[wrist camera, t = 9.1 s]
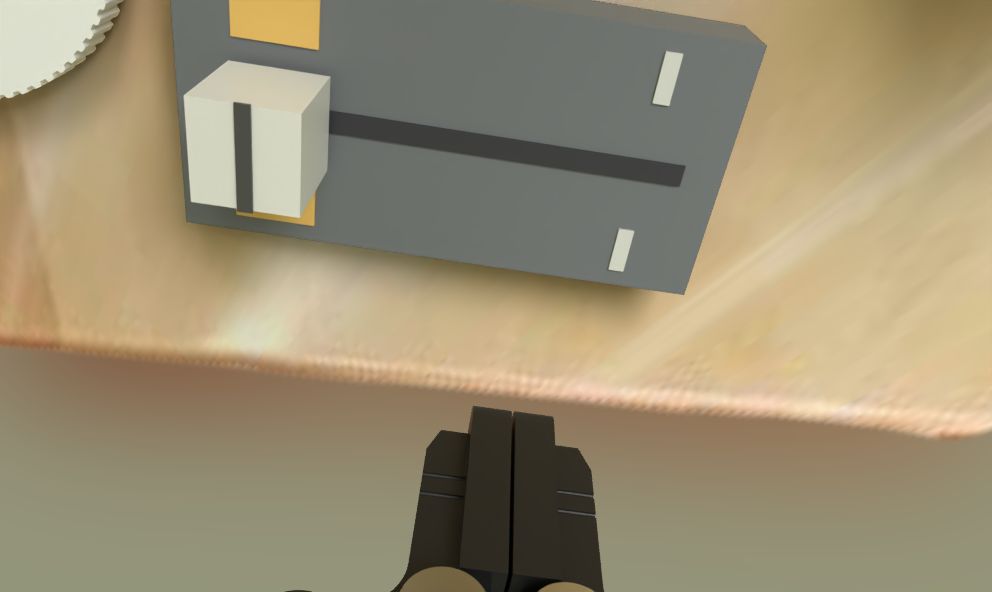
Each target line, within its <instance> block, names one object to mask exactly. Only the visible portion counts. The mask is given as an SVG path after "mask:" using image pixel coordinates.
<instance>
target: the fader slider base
mask: <svg viewBox="0 0 992 592" xmlns="http://www.w3.org/2000/svg"><path fill="white" fill-rule="evenodd" d="M170 4H171V17H172V31H173V45H174V58H175V72H176V85H177V99H178V112H179V126H180V140H181V153H182V167H183V180H184V194H185V207H186V221H187V222H190V223H197V224H204V225H211V226H218V227H224V228H231V229H238V230H245V231H252V232H259V233H265V234H272V235H279V236H286V237H293V238H299V239H306V240H313V241H320V242H327V243H333V244H340V245H347V246H354V247H361V248H368V249H374V250H381V251H388V252H395V253H402V254H408V255H415V256H422V257H429V258H436V259H443V260H449V261H456V262H463V263H470V264H477V265H483V266H490V267H497V268H504V269H511V270H517V271H524V272H531V273H538V274H545V275H552V276H558V277H565V278H572V279H579V280H586V281H592V282H599V283H606V284H613V285H620V286H627V287H633V288H640V289H647V290H654V291H661V292H667V293H674V294H681V295H684V293H685V290H686V287H687V284H688V281H689V278H690V275H691V272H692V269H693V266H694V263H695V260H696V257H697V254H698V251H699V248H700V245H701V242H702V239H703V236H704V233H705V230H706V227H707V224H708V221H709V218H710V215H711V212H712V209H713V206H714V203H715V200H716V197H717V194H718V191H719V188H720V185H721V182H722V179H723V176H724V173H725V170H726V167H727V164H728V161H729V158H730V155H731V152H732V149H733V146H734V143H735V140H736V137H737V134H738V131H739V128H740V125H741V122H742V119H743V116H744V113H745V110H746V107H747V104H748V101H749V98H750V95H751V92H752V89H753V86H754V83H755V80H756V77H757V74H758V71H759V68H760V65H761V62H762V59H763V56H764V53H765V50H766V47H767V45H766V44H765V43H763V42H762V41H761V40H760V39H759V38H758V37H757V36H756V35H755V34H753V33H752V32H751V31H750V30H749V29H748V28H747V27H746V26H743V25H737V24H731V23H725V22H719V21H713V20H707V19H701V18H695V17H689V16H683V15H677V14H671V13H665V12H659V11H653V10H647V9H641V8H635V7H629V6H623V5H617V4H611V3H605V2H599V1H593V0H170ZM228 60H230V61H236V62H242V63H248V64H255V65H261V66H267V67H274V68H280V69H286V70H293V71H299V72H305V73H312V74H318V75H324V76H331V77H330V106H329V135H328V164H327V172H326V174H325V175H324V177H323V179H322V181H321V182H320V184H319V186H318V187H317V189H316V191H315V193H314V194H313V196H312V198H311V200H310V201H309V203H308V205H307V207H306V208H305V210H304V212H303V214H302V215H301V217H300V218H297V217H290V216H283V215H277V214H270V213H263V212H256V211H253V214H251V213H244V212H237V209H236V208H229V207H223V206H216V205H209V204H202V203H196V202H191V195H190V181H189V166H188V152H187V137H186V123H185V108H184V95H185V94H186V93H187V92H189V91H190V90H191V89H192V88H194V87H195V86H196V85H197V84H199V83H200V82H201V81H203V80H204V79H205V78H206V77H208V76H209V75H210V74H212V73H213V72H214V71H215V70H217V69H218V68H219V67H220V66H222V65H223V64H224V63H226V62H227V61H228Z"/></svg>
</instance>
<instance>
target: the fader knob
mask: <svg viewBox="0 0 992 592" xmlns="http://www.w3.org/2000/svg"><path fill="white" fill-rule="evenodd" d="M330 77H331V76H324V75H318V74H312V73H305V72H299V71H293V70H286V69H280V68H274V67H267V66H261V65H255V64H248V63H242V62H236V61H230V60H228V61H227V62H226V63H224V64H223V65H222V66H220V67H219V68H218V69H217V70H215V71H214V72H213V73H212V74H210V75H209V76H208V77H206V78H205V79H204V80H203V81H201V82H200V83H199V84H197V85H196V86H195V87H194V88H192V89H191V90H190V91H189V92H187V93H186V94H185V95H184V108H185V123H186V137H187V152H188V166H189V181H190V195H191V202H196V203H202V204H209V205H216V206H223V207H229V208H236V209H237V212H244V213H251V214H253V211H256V212H263V213H270V214H277V215H283V216H290V217H297V218H300V217H301V215H302V214H303V212H304V210H305V208H306V207H307V205H308V203H309V201H310V200H311V198H312V196H313V194H314V193H315V191H316V189H317V187H318V186H319V184H320V182H321V181H322V179H323V177H324V175H325V174H326V172H327V164H328V135H329V106H330Z"/></svg>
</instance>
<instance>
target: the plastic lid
mask: <svg viewBox="0 0 992 592" xmlns="http://www.w3.org/2000/svg"><path fill="white" fill-rule="evenodd" d="M123 1H124V0H0V99H1V98H3V97H5V96H6V98H11V97H14V96H16V95H18V94H20V93H21V94H25V93H27V92H29V91H31V90H33V89H35V88H36V89H37V88H39V87H41V86H43V85H45V84H46V83H48V82H50V81H52V80H54V79H56V78H58V77H59V76H61V75H63V74H65V73H66V72H68V71H70V70H72V69H73V68H75V66H76V65H78V64H80V63H81V62H83V61H84V60H85V59H86V57H85V56H87V55H89V54H91V53H93V52H94V51H95V50H96V47H95V45H97V44H99V43H101V42H102V41H103V40H104V39H105V36H104V34H103V33H104V32H106V31H108V30H110V29H111V28H112V26H113V23H112V22H111V19H112V18H114V17H116V16H118V14H119V12H120V10H119V8H118V7H117V4H118V3H121V2H123Z"/></svg>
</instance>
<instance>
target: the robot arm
mask: <svg viewBox="0 0 992 592" xmlns="http://www.w3.org/2000/svg"><path fill="white" fill-rule="evenodd" d="M593 494H594V493H593V484H592V474H591V469H590V468H589V466H588V464H587V463H586V461H585V459H584V458H583V456H582V454H581V453H580V451H579V450H578V449H577V448H571V447H563V446H556V445H555V433H554V419H553V417H551V416H545V415H537V414H530V413H522V412H514V413H513V416H512V412H511V411H507V410H500V409H493V408H485V407H478V406H473V408H472V412H471V418H470V424H469V430H468V434H467V433H459V432H452V431H445V430H441V431H440V432H439V434H438V435H437V436H436V437H435V439H434V440H433V441H432V443H431V444H430V445H429V446H428V448H427V450H426V456H425V462H424V468H423V475H422V481H421V487H420V494H419V500H418V507H417V513H416V519H415V525H414V532H413V538H412V544H411V551H410V557H409V563H408V567H407V571H406V573H405V575H404V577H403V579H402V580H401V582H400V583H399V584H398V585H397V586H396V587H395V588H394V590H392V591H391V592H604V589H603V582H602V573H601V562H600V552H599V542H598V533H597V523H596V518H595V503H594V499H593ZM286 592H310V591H304V590H294V591H286Z"/></svg>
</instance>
